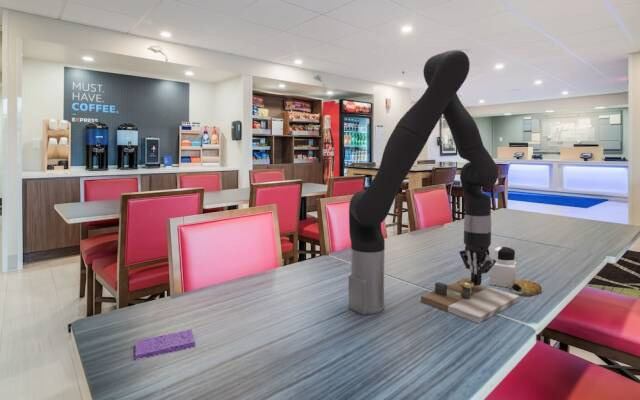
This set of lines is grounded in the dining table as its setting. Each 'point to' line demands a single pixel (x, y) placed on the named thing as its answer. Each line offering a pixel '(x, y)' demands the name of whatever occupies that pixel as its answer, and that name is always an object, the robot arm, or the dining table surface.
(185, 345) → the sponges
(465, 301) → the door board
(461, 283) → the latch bar
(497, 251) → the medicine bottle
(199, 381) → the dining table surface
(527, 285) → the pastry
